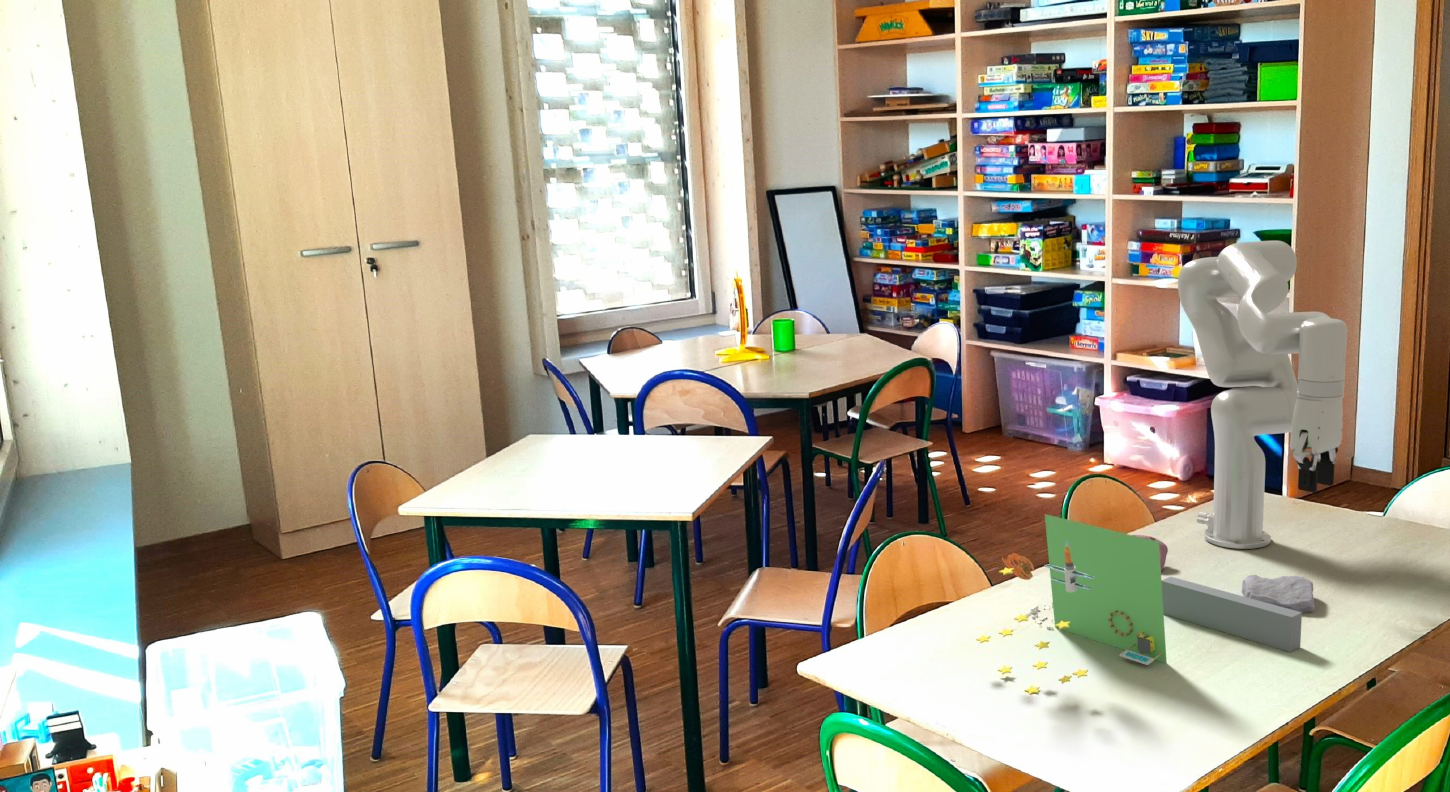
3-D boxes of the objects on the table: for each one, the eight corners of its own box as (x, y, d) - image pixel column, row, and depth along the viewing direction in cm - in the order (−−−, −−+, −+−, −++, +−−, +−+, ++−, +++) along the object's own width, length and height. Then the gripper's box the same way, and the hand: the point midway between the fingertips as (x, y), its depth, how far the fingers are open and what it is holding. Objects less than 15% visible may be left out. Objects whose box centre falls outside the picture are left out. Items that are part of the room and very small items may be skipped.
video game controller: (1166, 575, 245) (1171, 539, 246) (1161, 571, 241) (1166, 535, 243) (1115, 568, 250) (1120, 533, 252) (1109, 564, 247) (1114, 529, 248)
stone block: (1317, 624, 219) (1312, 593, 228) (1318, 600, 217) (1312, 570, 226) (1243, 621, 223) (1241, 591, 232) (1244, 598, 221) (1241, 568, 230)
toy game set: (963, 687, 205) (947, 554, 198) (1057, 625, 219) (1045, 499, 212) (1074, 732, 188) (1062, 588, 181) (1168, 662, 202) (1160, 526, 196)
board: (1160, 612, 223) (1160, 580, 221) (1169, 608, 224) (1170, 576, 223) (1290, 652, 204) (1292, 617, 203) (1300, 646, 206) (1301, 612, 204)
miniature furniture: (1117, 590, 235) (1117, 582, 235) (1053, 632, 217) (1053, 624, 217) (1081, 582, 240) (1081, 575, 240) (1015, 623, 222) (1015, 615, 222)
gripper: (1324, 378, 231) (1319, 474, 234) (1274, 393, 221) (1270, 493, 224) (1365, 383, 225) (1360, 481, 229) (1316, 399, 215) (1311, 501, 218)
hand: (1315, 486), depth 226 cm, fingers open, 5 cm apart
